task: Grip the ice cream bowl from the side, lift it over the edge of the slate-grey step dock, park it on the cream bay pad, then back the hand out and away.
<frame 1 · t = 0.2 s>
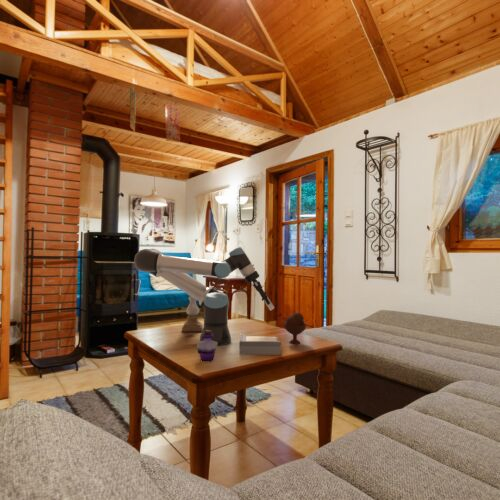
hand: (271, 307, 184), 15 cm above the table, tool tilted 35°, fingers open, 13 cm apart
candle holder: (192, 329, 195), on the table, touching arm
ice cream bowl: (294, 343, 170), on the table
step dock: (259, 348, 159), on the table
potion bottle: (207, 360, 142), on the table
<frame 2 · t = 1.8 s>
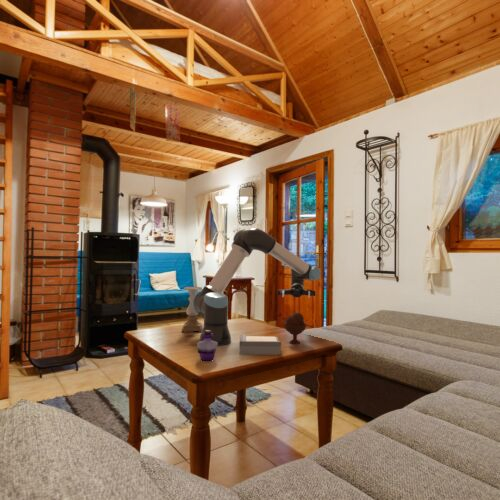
hand: (295, 294, 180), 22 cm above the table, tool horizontal, fingers open, 13 cm apart
candle holder: (192, 330, 195), on the table
everything else where it was.
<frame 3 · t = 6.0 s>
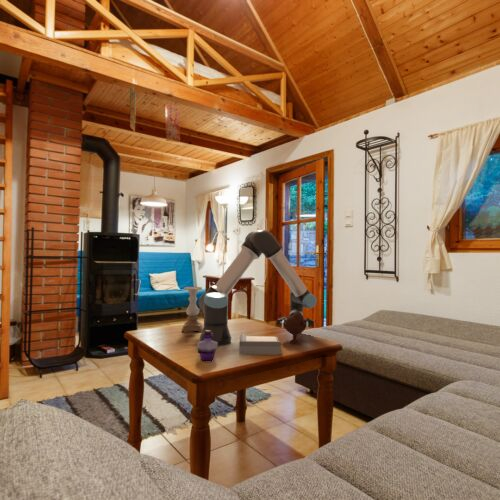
hand: (294, 326, 167), 9 cm above the table, tool horizontal, fingers closed on ice cream bowl, 11 cm apart
ice cream bowl: (294, 343, 170), on the table, touching gripper
everything else where it was.
when the fingers open (14 cm above the table, at t = 10.6 s): ice cream bowl drops 1 cm, resting on step dock.
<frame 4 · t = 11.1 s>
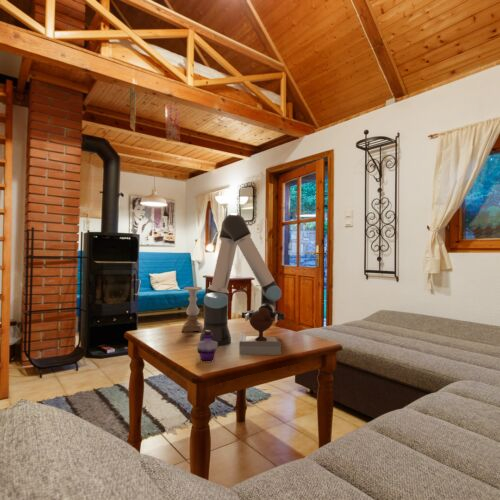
hand: (260, 319, 157), 14 cm above the table, tool horizontal, fingers open, 13 cm apart
ice cream bowl: (260, 340, 160), point 4 cm above the table, touching step dock
everything else where it was.
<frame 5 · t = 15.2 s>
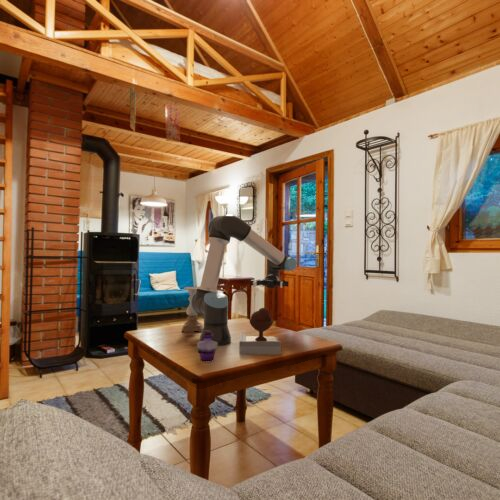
hand: (267, 284, 174), 28 cm above the table, tool horizontal, fingers open, 13 cm apart
nothing on the table moved.
at the end: ice cream bowl inside the target area on the step dock (0.2 cm from its centre), point 3.5 cm above the step dock's base; ice cream bowl tilted 0°; the gripper is holding nothing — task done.
